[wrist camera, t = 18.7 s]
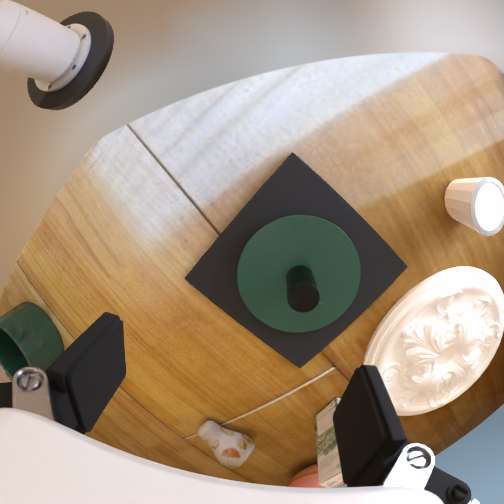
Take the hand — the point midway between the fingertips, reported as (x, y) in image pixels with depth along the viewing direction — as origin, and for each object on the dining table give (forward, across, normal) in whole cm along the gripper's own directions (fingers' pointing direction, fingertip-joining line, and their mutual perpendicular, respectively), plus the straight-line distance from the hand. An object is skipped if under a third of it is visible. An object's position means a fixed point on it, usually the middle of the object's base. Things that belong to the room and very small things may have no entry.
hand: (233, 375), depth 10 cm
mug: (+24, -1, +36) cm, 43 cm away
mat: (+24, -5, +4) cm, 25 cm away
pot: (+25, +38, +27) cm, 53 cm away
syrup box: (+24, -18, +26) cm, 40 cm away
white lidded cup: (+24, -25, -10) cm, 36 cm away
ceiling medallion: (+24, -32, +12) cm, 42 cm away
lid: (+23, -5, +4) cm, 24 cm away
